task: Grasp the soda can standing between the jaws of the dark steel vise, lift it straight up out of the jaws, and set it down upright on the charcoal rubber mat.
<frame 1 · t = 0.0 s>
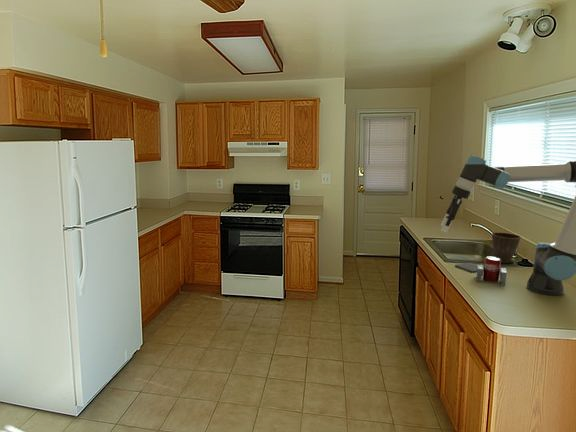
hand: (443, 229, 196), 28 cm above the worktop, tool tilted 20°, fingers open, 13 cm apart
rubber mat: (471, 268, 229), on the worktop
soda can: (490, 281, 209), on the worktop
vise: (490, 280, 209), on the worktop
plant pot: (502, 261, 246), on the worktop
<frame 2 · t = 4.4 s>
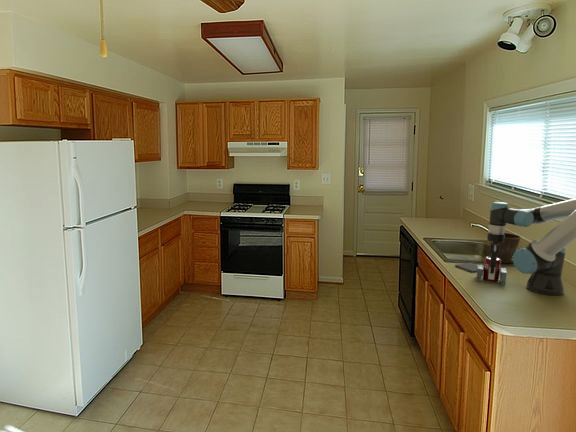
hand: (490, 276, 209), 2 cm above the worktop, tool pointing down, fingers closed on soda can, 7 cm apart
soda can: (490, 281, 209), on the worktop, touching gripper
everything else where it was.
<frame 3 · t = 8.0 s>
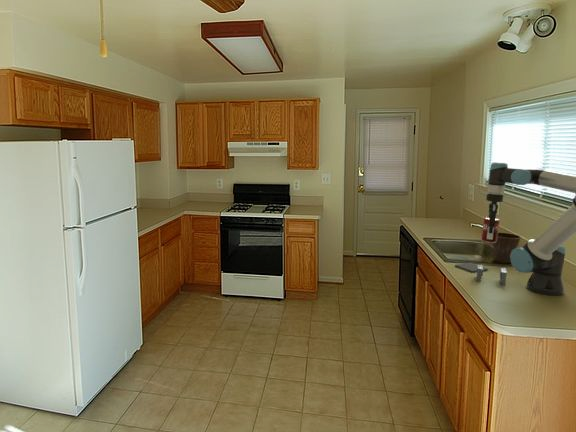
hand: (489, 237, 210), 21 cm above the worktop, tool pointing down, fingers closed on soda can, 7 cm apart
soda can: (488, 241, 211), point 19 cm above the worktop, touching gripper
everything else where it was.
when the fingers open (5 cm above the worktop, at t = 11.6 s): soda can drops 1 cm, resting on rubber mat.
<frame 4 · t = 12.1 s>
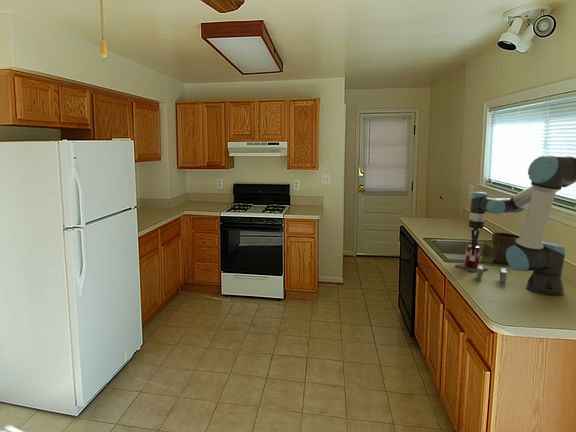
hand: (472, 257, 228), 6 cm above the worktop, tool pointing down, fingers open, 13 cm apart
soda can: (471, 267, 229), point 1 cm above the worktop, touching rubber mat
everything else where it was.
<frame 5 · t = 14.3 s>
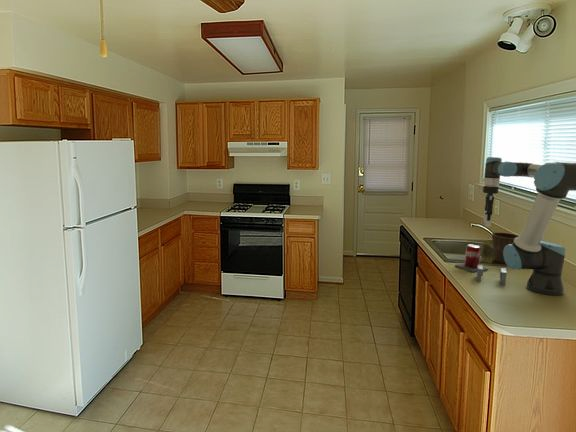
hand: (486, 224, 225), 25 cm above the worktop, tool pointing down, fingers open, 13 cm apart
nothing on the worktop moved.
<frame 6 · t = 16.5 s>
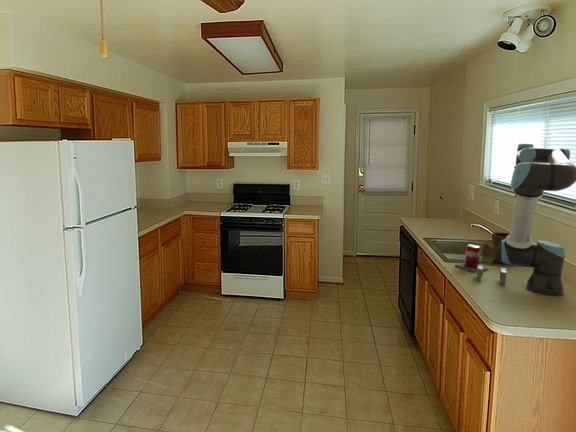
hand: (517, 211, 225), 33 cm above the worktop, tool pointing down, fingers open, 13 cm apart
nothing on the worktop moved.
at the end: soda can inside the target area on the rubber mat (0.0 cm from its centre), point 0.8 cm above the rubber mat's base; soda can tilted 0°; soda can touching rubber mat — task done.
